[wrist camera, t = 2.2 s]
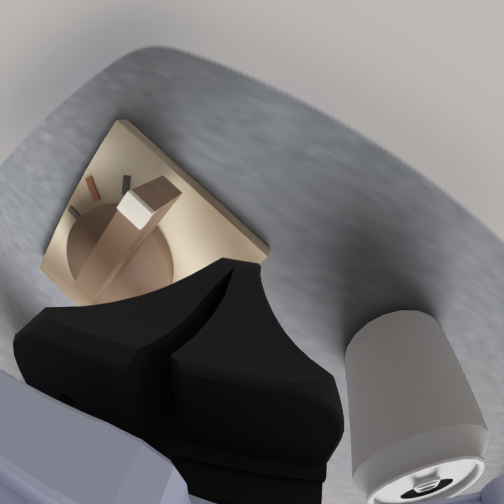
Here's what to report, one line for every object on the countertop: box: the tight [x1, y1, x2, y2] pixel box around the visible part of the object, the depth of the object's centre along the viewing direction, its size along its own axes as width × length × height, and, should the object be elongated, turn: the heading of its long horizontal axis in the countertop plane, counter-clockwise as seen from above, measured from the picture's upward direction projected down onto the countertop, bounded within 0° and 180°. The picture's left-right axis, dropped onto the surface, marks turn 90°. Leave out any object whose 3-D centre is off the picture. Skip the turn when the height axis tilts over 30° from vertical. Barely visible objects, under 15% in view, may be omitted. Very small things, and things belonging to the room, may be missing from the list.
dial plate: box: [40, 119, 270, 306], centre depth 21 cm, size 14×12×1 cm
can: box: [344, 310, 490, 504], centre depth 15 cm, size 8×8×12 cm
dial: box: [66, 176, 182, 305], centre depth 17 cm, size 11×8×5 cm
